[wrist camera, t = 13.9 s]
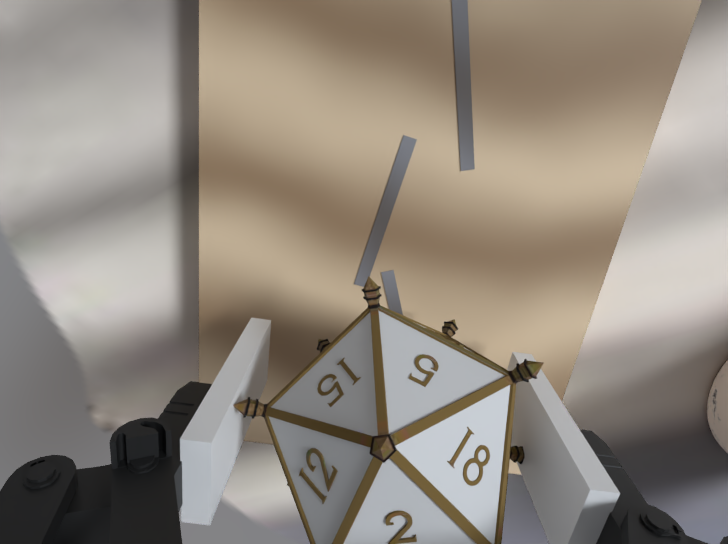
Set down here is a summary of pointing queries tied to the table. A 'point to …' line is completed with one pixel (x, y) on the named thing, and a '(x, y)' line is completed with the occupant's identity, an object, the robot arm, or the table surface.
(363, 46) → the board
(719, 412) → the teacup with lid
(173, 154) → the table surface
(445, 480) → the game die
